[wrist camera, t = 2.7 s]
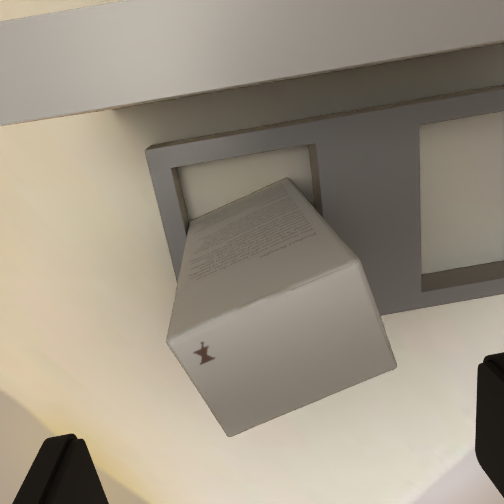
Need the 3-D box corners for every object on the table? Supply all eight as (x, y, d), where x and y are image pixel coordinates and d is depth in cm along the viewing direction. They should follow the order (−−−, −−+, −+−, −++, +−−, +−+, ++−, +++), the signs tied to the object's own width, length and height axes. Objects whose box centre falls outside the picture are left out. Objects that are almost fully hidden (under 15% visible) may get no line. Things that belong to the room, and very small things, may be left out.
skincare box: (221, 284, 24) (222, 444, 13) (188, 220, 23) (157, 340, 12) (318, 241, 24) (403, 372, 13) (290, 173, 22) (359, 253, 11)
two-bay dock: (593, -19, 20) (1057, -157, 9) (560, 265, 26) (824, 399, 14) (99, 65, 20) (-55, 30, 9) (170, 333, 25) (131, 524, 14)
